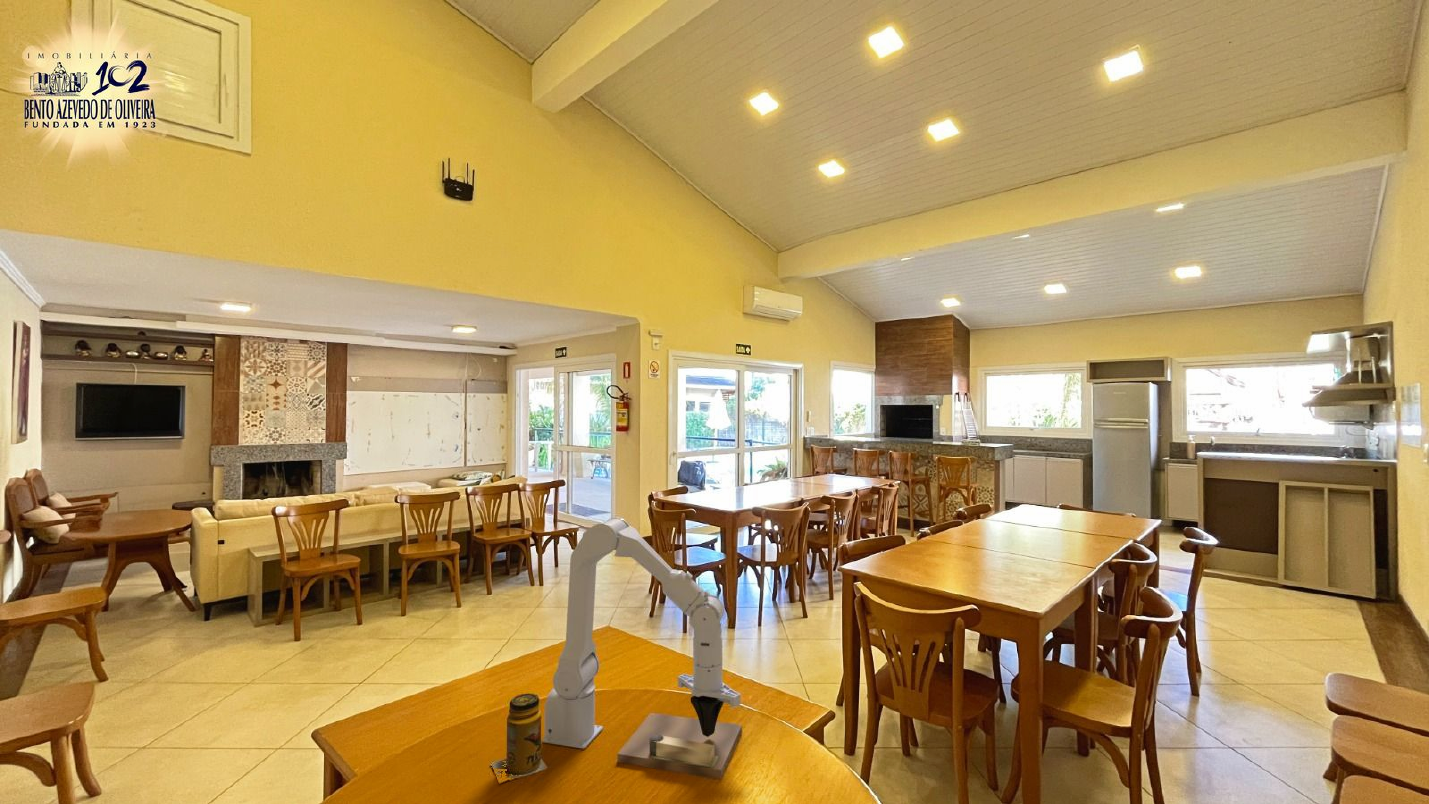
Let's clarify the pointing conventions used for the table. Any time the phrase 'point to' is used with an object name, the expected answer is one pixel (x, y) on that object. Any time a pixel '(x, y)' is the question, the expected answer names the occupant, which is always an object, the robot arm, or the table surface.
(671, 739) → the leg
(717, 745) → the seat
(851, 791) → the table surface
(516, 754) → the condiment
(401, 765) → the table surface
